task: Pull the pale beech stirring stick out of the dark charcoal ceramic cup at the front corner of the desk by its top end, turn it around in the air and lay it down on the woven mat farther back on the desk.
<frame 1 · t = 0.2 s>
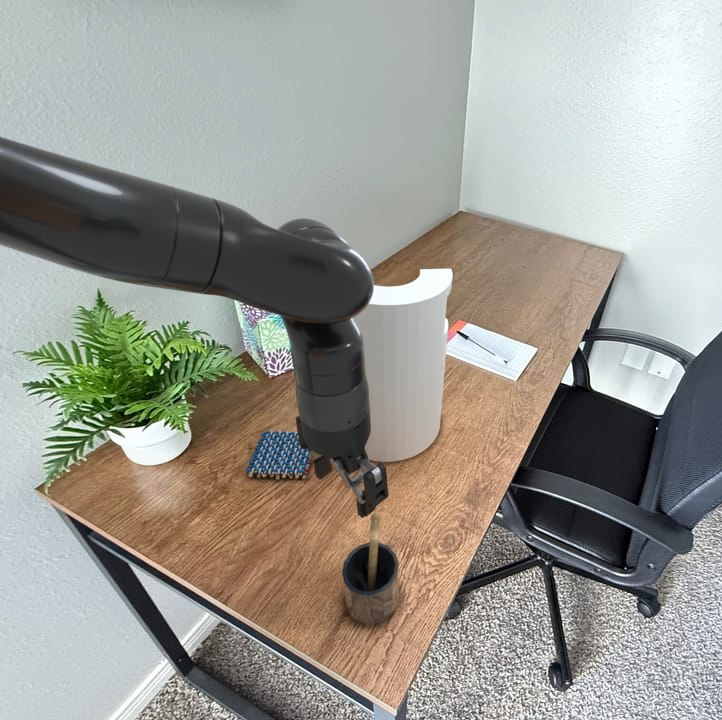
hand: (344, 492, 61), 18 cm above the table, tool pointing down, fingers open, 8 cm apart
stirrer: (372, 565, 65), point 7 cm above the table, touching cup
woven mat: (285, 458, 86), on the table
cup: (372, 598, 68), on the table
white curved half cylinder: (392, 439, 93), on the table
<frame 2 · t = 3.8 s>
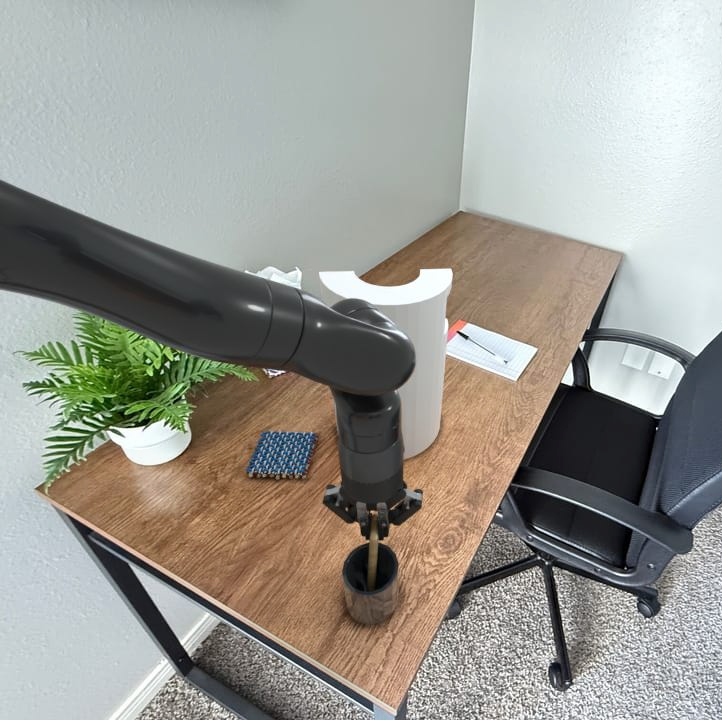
hand: (375, 534, 66), 10 cm above the table, tool pointing down, fingers closed on stirrer, 1 cm apart
stirrer: (372, 565, 65), point 7 cm above the table, touching cup, gripper
everything else where it was.
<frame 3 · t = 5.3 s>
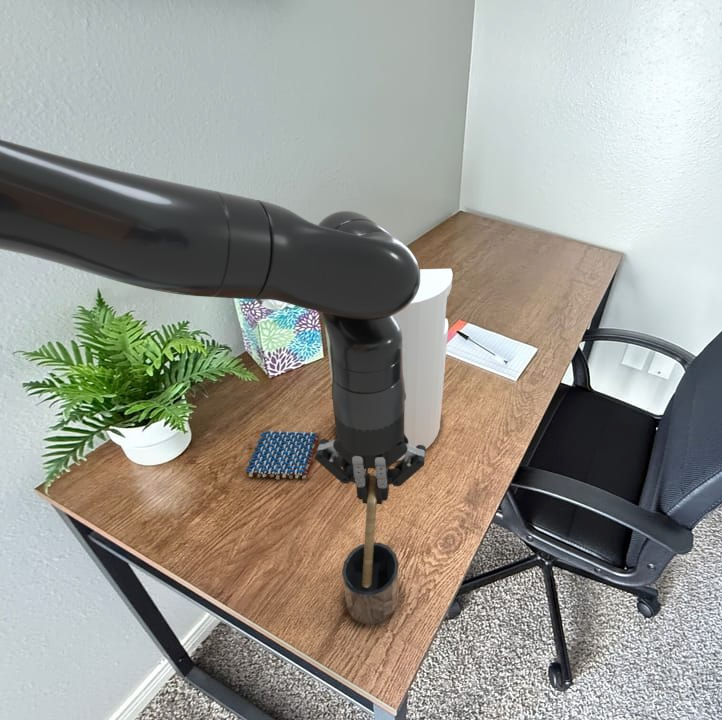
hand: (373, 497, 61), 18 cm above the table, tool pointing down, fingers closed on stirrer, 1 cm apart
stirrer: (370, 531, 60), point 16 cm above the table, touching gripper
everything else where it was.
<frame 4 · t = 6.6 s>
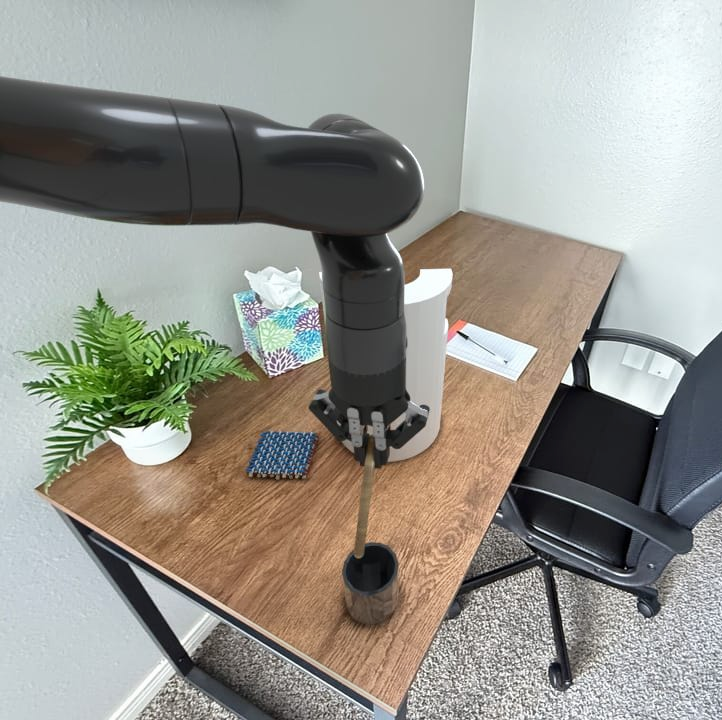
hand: (372, 461, 56), 26 cm above the table, tool pointing down, fingers closed on stirrer, 1 cm apart
stirrer: (365, 496, 55), point 24 cm above the table, touching gripper
everything else where it was.
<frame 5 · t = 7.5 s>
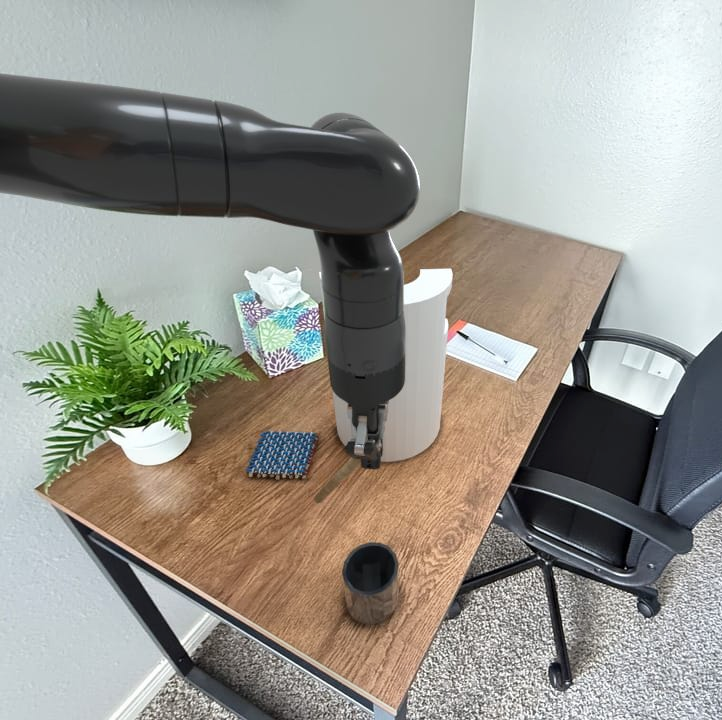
hand: (372, 460, 56), 26 cm above the table, tool pointing down, fingers closed on stirrer, 1 cm apart
stirrer: (345, 471, 57), point 24 cm above the table, touching gripper
everything else where it was.
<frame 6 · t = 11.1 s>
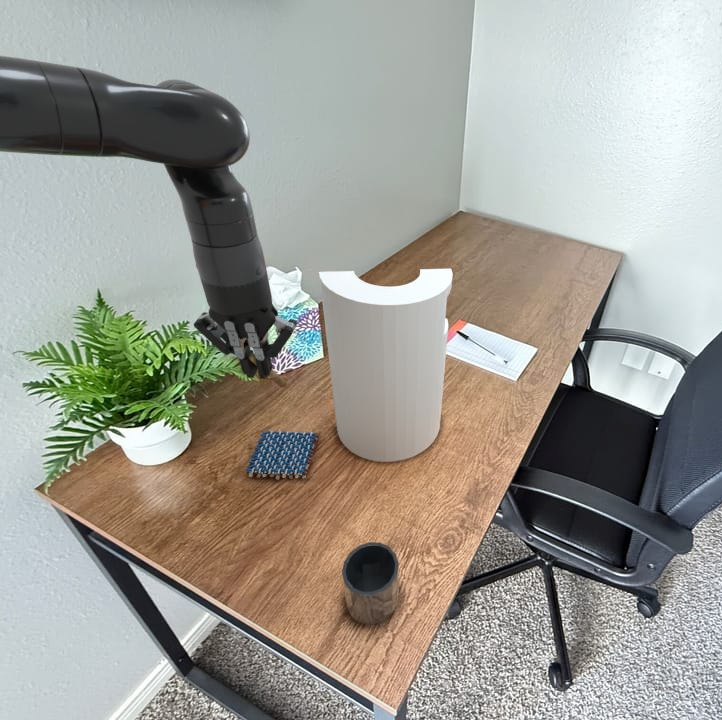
hand: (258, 374, 68), 24 cm above the table, tool pointing down, fingers closed on stirrer, 1 cm apart
stirrer: (269, 372, 72), point 21 cm above the table, touching gripper
everything else where it was.
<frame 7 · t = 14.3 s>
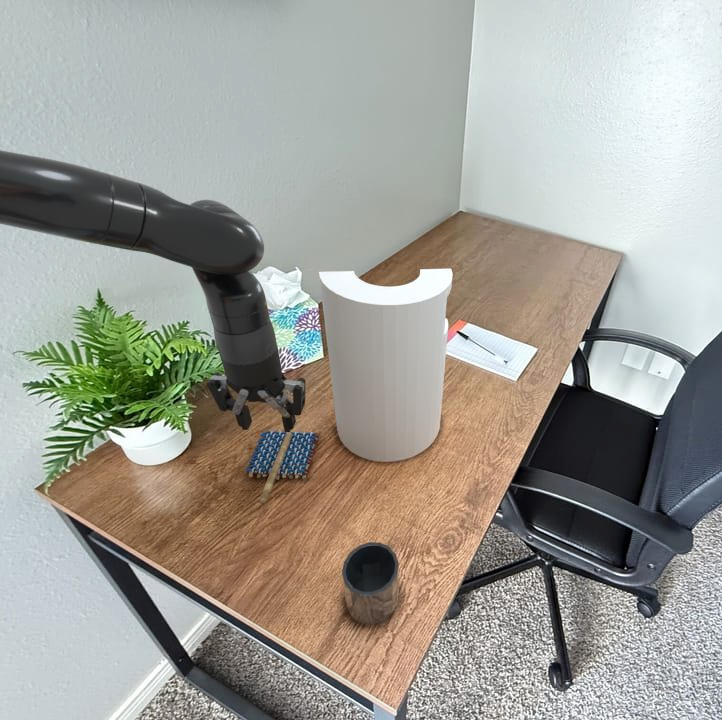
hand: (268, 427, 76), 12 cm above the table, tool pointing down, fingers open, 6 cm apart
stirrer: (276, 465, 81), point 3 cm above the table, tilted 59°, touching woven mat
woven mat: (285, 458, 86), on the table, touching stirrer
everything else where it was.
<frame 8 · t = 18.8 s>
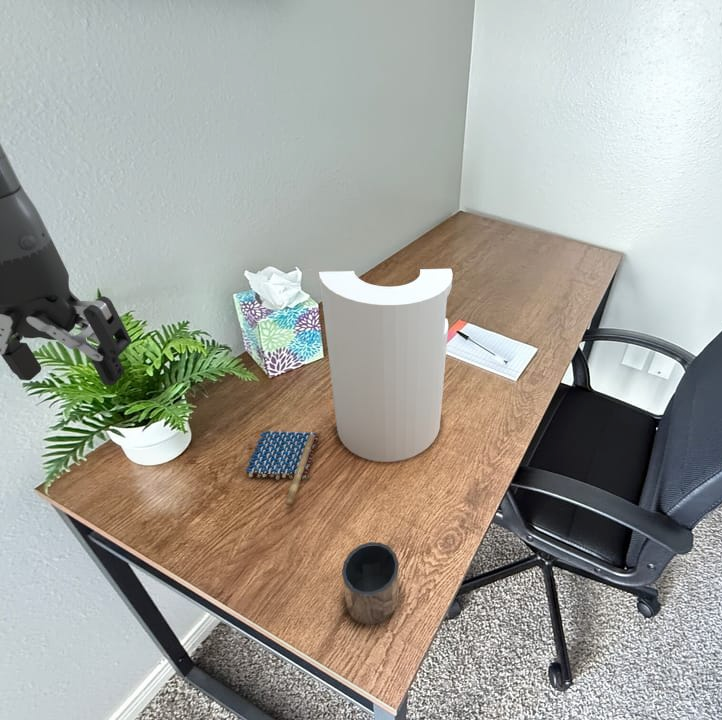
hand: (73, 378, 51), 33 cm above the table, tool pointing down, fingers open, 8 cm apart
stirrer: (301, 467, 82), point 3 cm above the table, tilted 70°, touching woven mat
everything else where it was.
at the end: stirrer inside the target area on the woven mat (5.9 cm from its centre), point 2.8 cm above the woven mat's base; stirrer point 2.6 cm above the table; the gripper is holding nothing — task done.
